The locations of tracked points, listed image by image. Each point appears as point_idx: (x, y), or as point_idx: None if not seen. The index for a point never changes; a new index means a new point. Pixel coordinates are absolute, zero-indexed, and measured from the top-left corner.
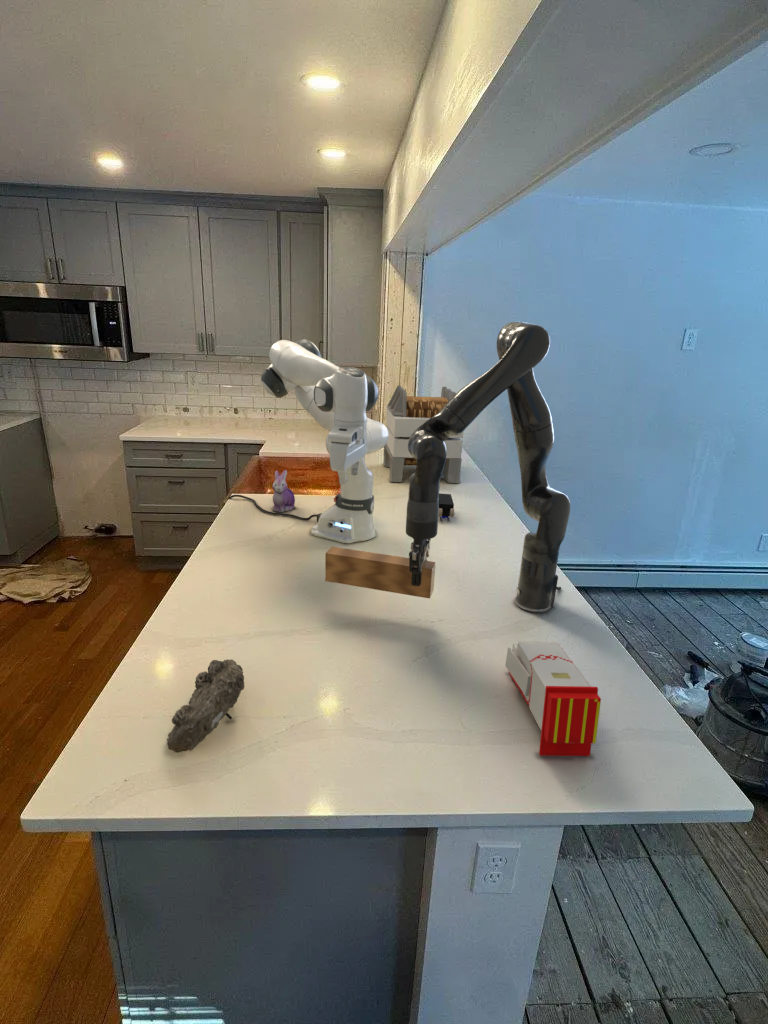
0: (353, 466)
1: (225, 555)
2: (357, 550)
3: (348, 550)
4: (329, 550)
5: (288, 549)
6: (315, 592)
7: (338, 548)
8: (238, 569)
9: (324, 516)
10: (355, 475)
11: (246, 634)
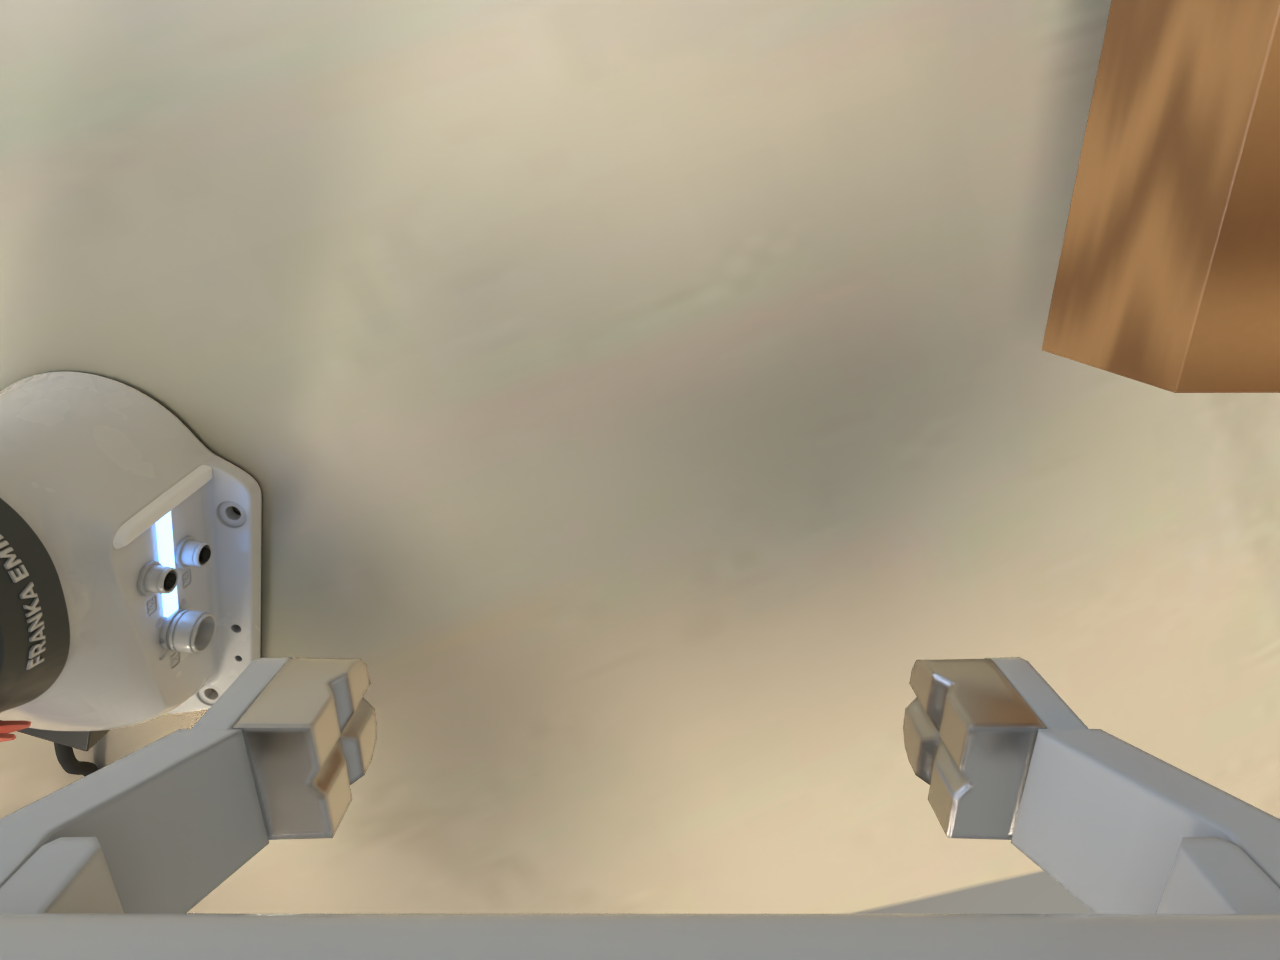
0: (222, 851)
1: (643, 887)
2: (1245, 150)
3: (1250, 230)
4: (1263, 380)
5: (474, 710)
6: (864, 433)
7: (1215, 326)
8: (747, 796)
9: (149, 699)
10: (364, 668)
11: (1266, 547)
